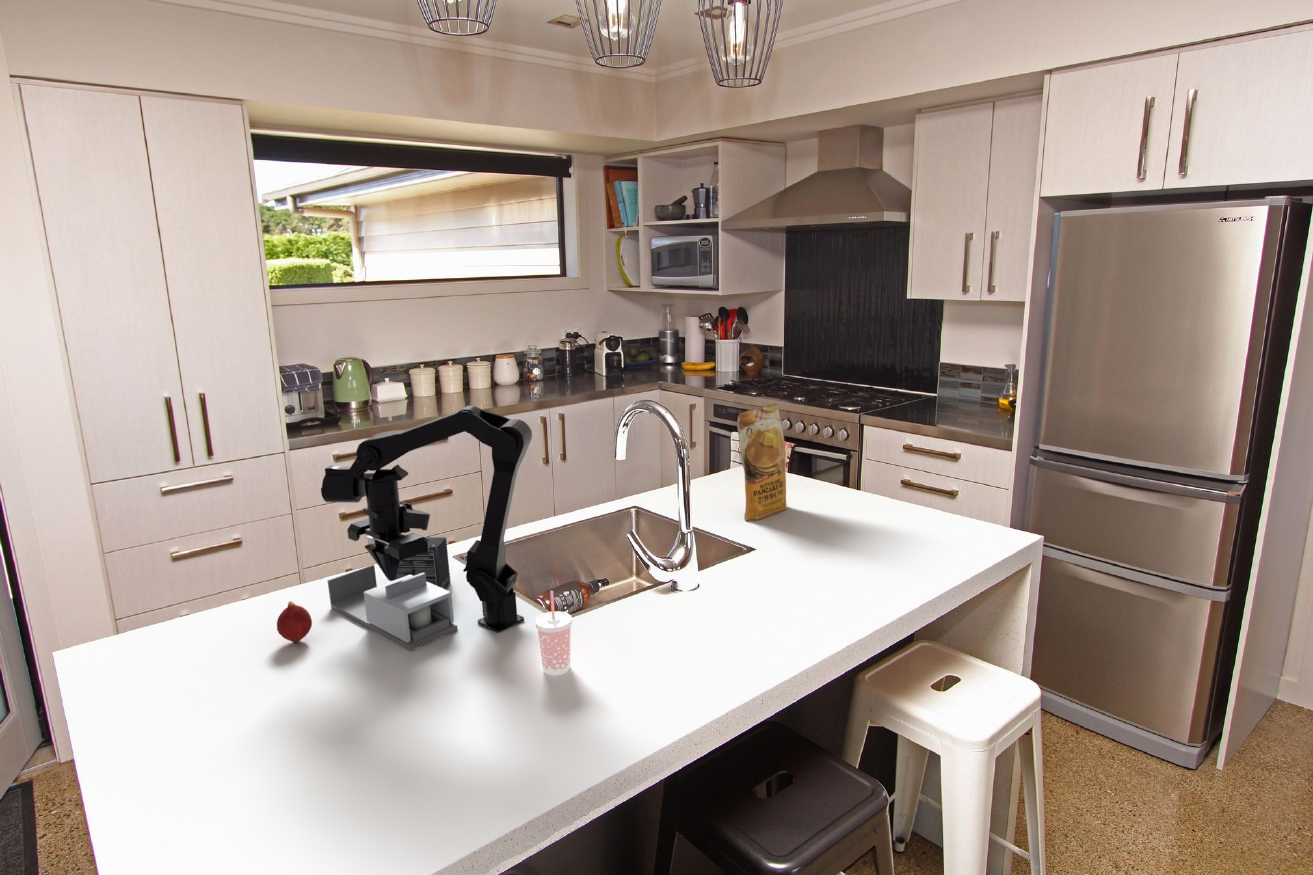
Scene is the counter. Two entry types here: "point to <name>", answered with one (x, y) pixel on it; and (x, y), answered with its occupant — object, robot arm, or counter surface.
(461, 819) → the counter surface
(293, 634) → the onion
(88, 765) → the counter surface
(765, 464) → the pancake mix bag
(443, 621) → the housing
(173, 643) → the counter surface
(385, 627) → the lid
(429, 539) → the small box
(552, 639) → the beverage cup
